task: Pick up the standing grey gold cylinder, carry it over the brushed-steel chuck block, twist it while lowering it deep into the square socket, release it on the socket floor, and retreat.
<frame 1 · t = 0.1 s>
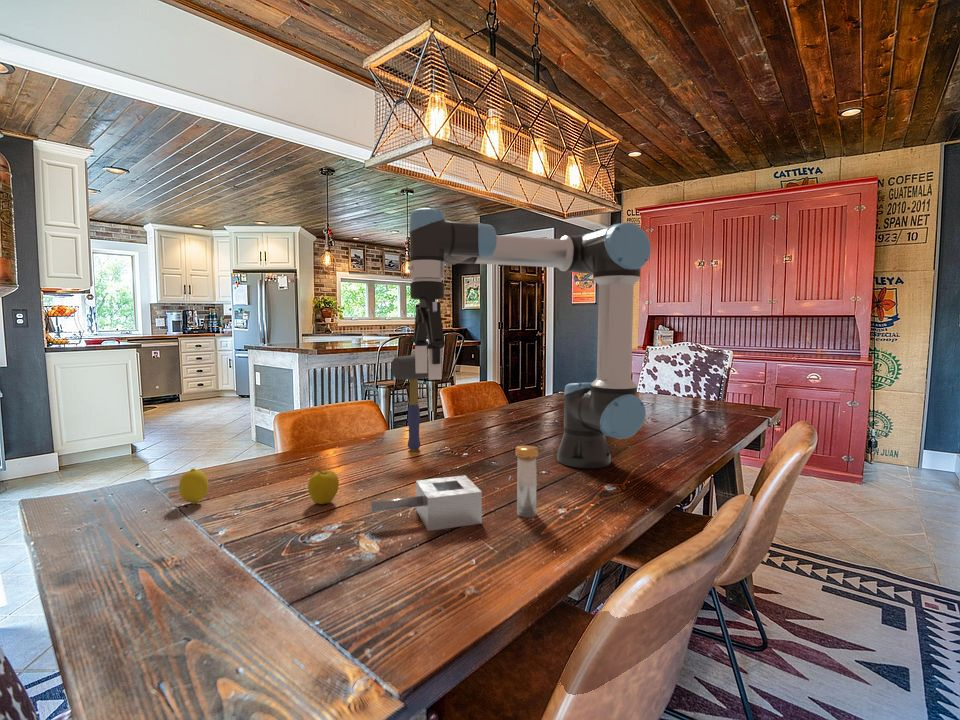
hand: (427, 376, 110), 28 cm above the table, fingers open, 13 cm apart
grey gold cylinder: (526, 513, 102), on the table
rubber mallet: (414, 450, 153), on the table
lemon: (194, 504, 107), on the table
apple: (324, 504, 108), on the table
chuck: (447, 516, 100), on the table
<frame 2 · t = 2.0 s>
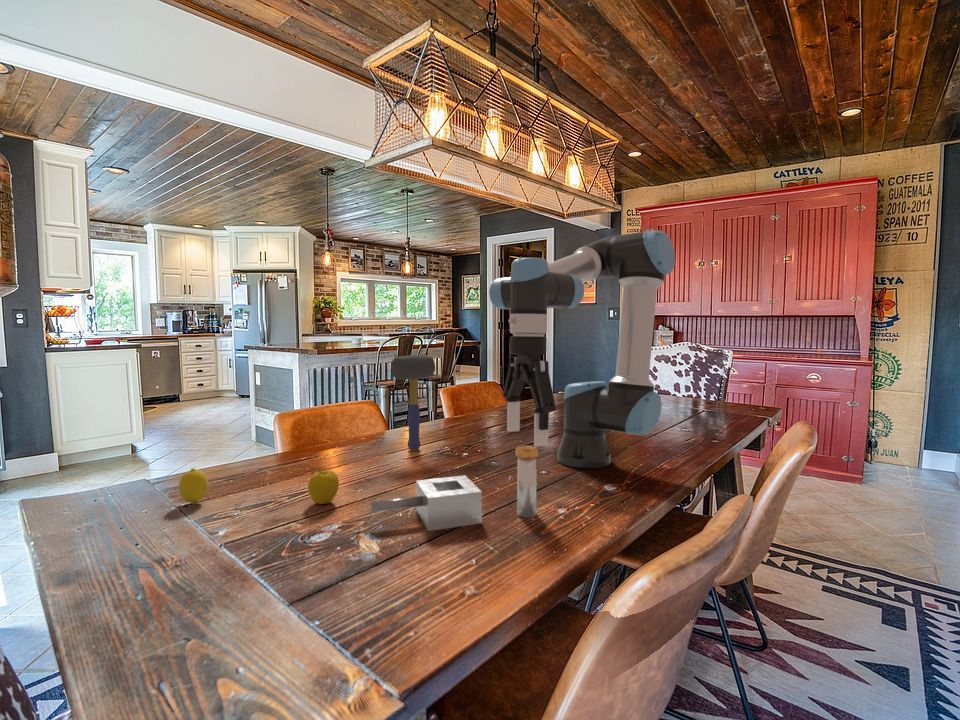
hand: (526, 438, 100), 16 cm above the table, fingers open, 13 cm apart
nothing on the table moved.
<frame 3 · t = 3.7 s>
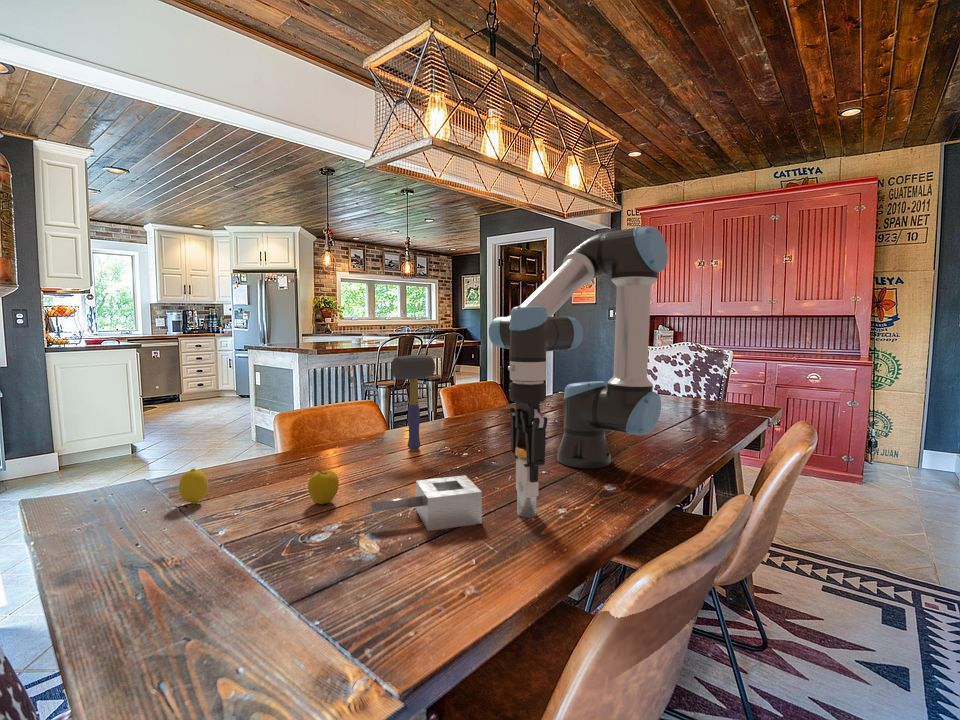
hand: (526, 492, 102), 5 cm above the table, fingers closed on grey gold cylinder, 4 cm apart
grey gold cylinder: (526, 513, 102), on the table, touching gripper
everything else where it was.
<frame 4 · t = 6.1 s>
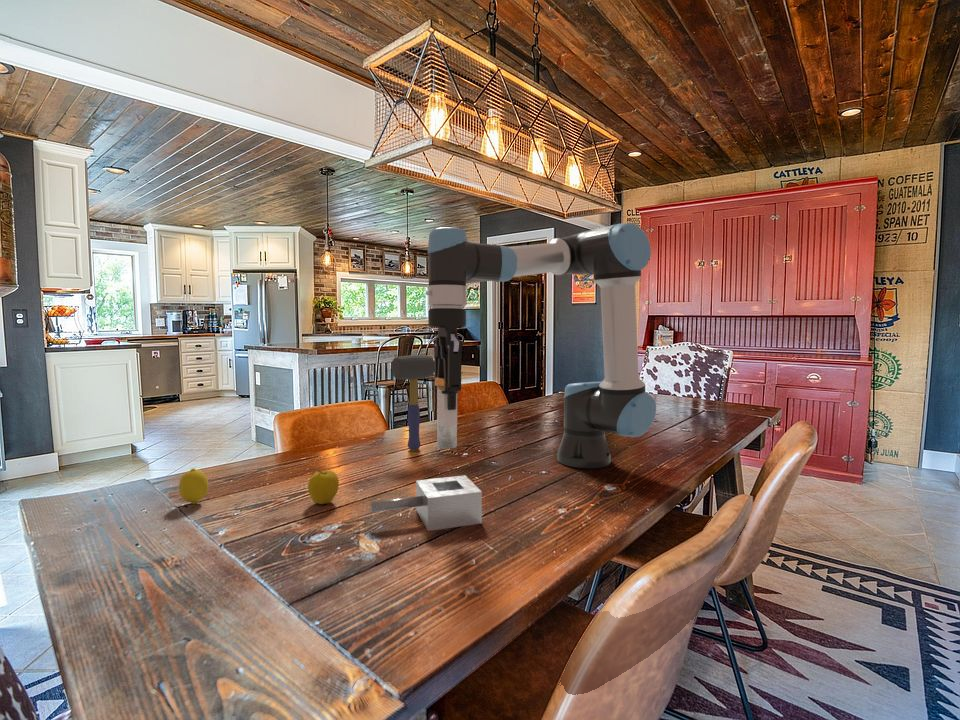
hand: (447, 422, 99), 20 cm above the table, fingers closed on grey gold cylinder, 4 cm apart
grey gold cylinder: (446, 446, 99), point 15 cm above the table, touching gripper
everything else where it was.
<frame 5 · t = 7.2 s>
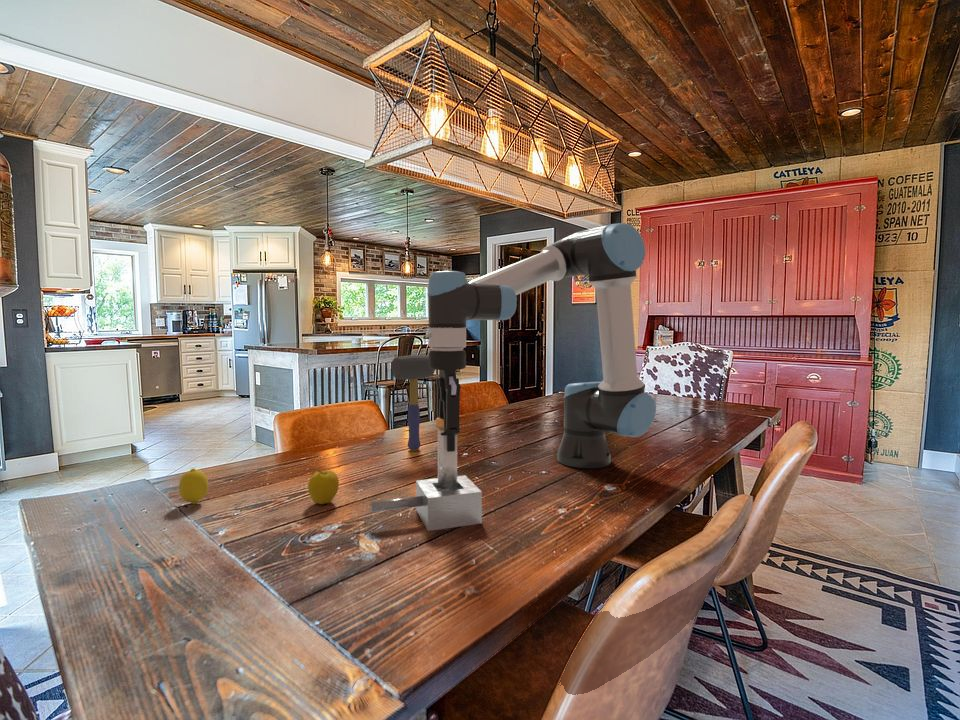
hand: (447, 462, 100), 11 cm above the table, fingers closed on grey gold cylinder, 4 cm apart
grey gold cylinder: (447, 486, 100), point 6 cm above the table, touching gripper
everything else where it was.
when the fingers open (8 cm above the table, at t = 8.4 s): grey gold cylinder stays where it is, resting on chuck.
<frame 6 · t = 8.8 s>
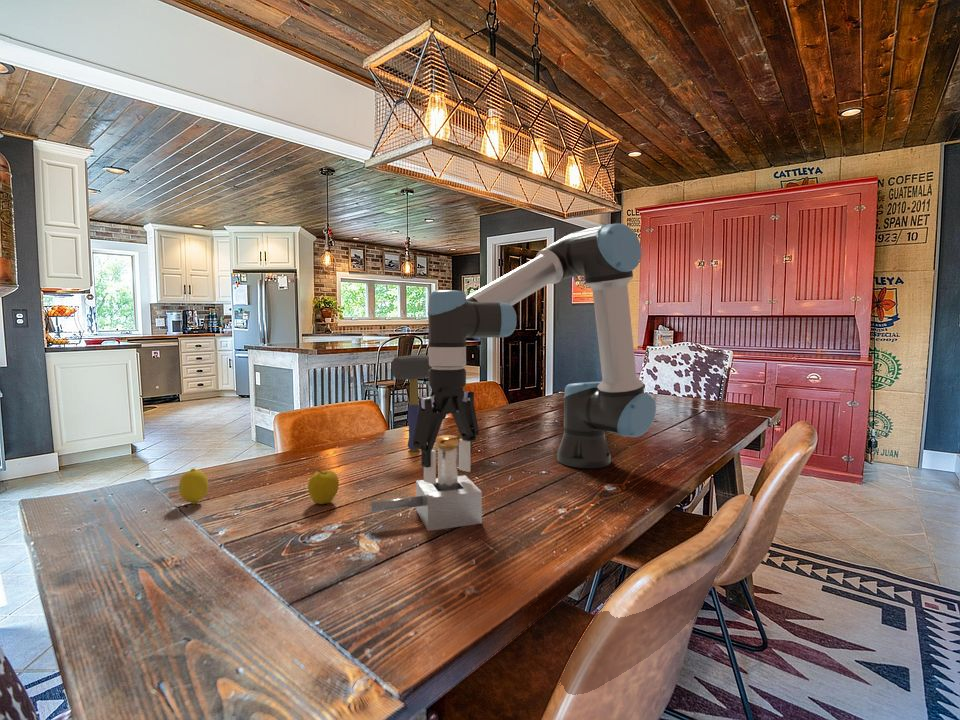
hand: (447, 476, 100), 9 cm above the table, fingers open, 9 cm apart
grey gold cylinder: (447, 504, 100), point 3 cm above the table, touching chuck
everything else where it was.
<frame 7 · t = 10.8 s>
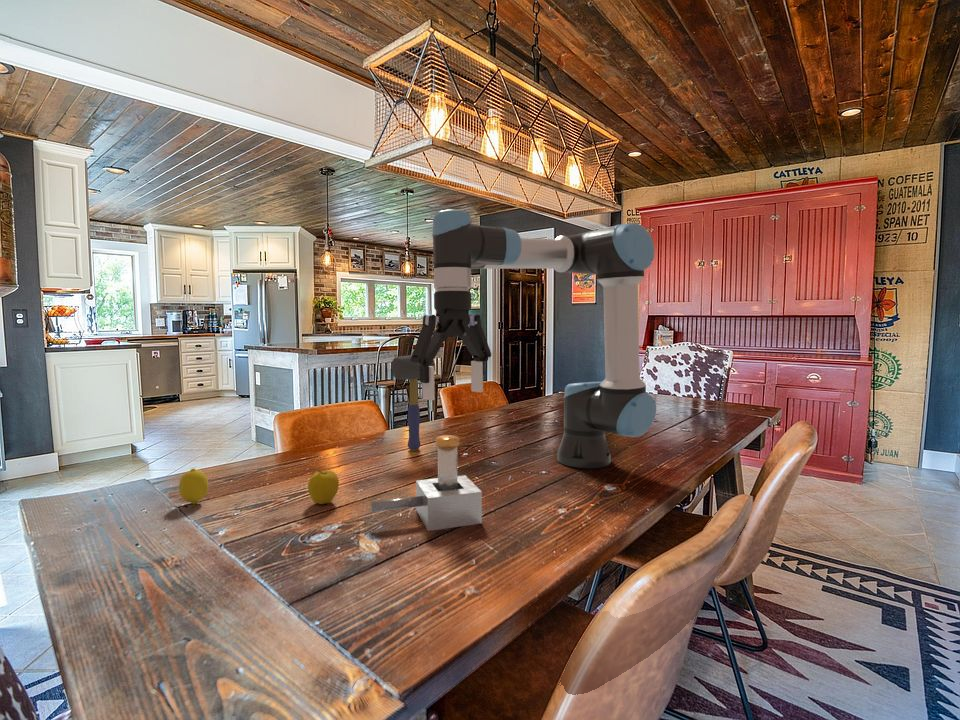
hand: (454, 395, 99), 25 cm above the table, fingers open, 13 cm apart
nothing on the table moved.
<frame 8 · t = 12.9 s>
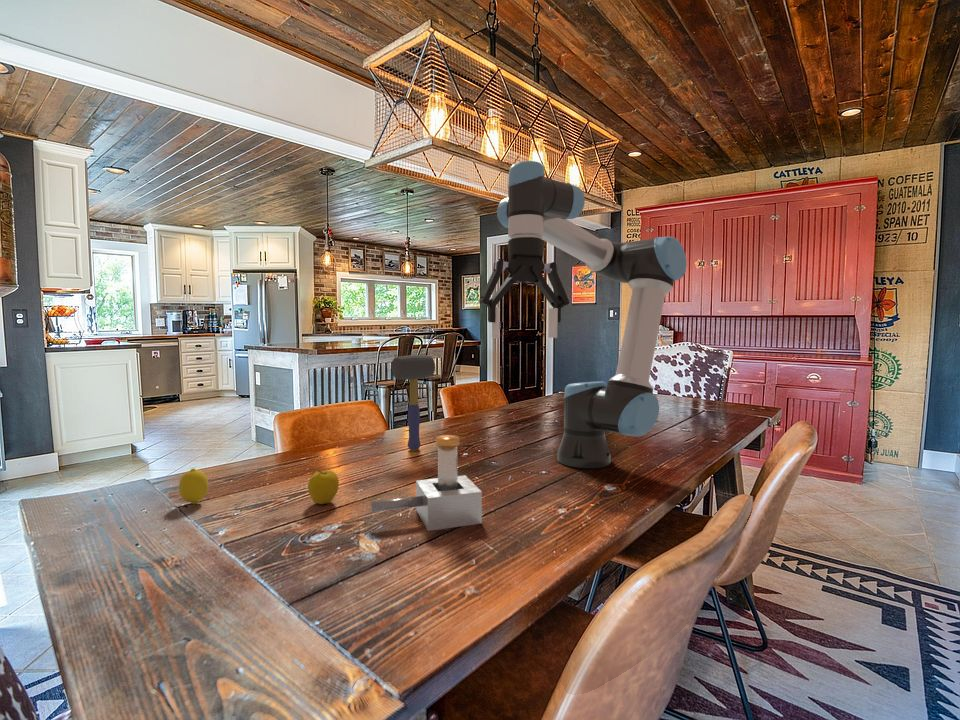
hand: (524, 338, 105), 37 cm above the table, fingers open, 13 cm apart
nothing on the table moved.
at the end: grey gold cylinder 0.1 cm off-centre on the chuck, point 2.5 cm above the chuck's base; grey gold cylinder tilted 1°; the gripper is holding nothing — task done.
